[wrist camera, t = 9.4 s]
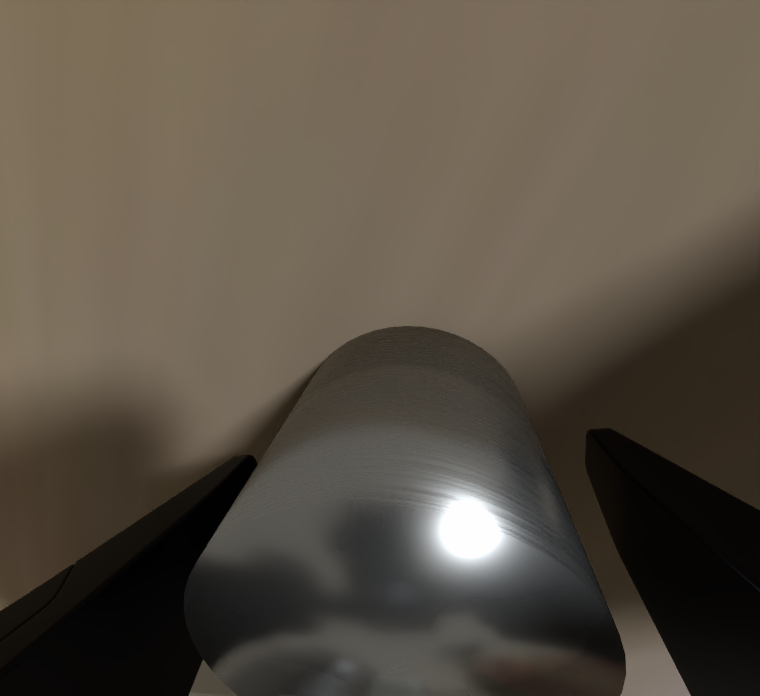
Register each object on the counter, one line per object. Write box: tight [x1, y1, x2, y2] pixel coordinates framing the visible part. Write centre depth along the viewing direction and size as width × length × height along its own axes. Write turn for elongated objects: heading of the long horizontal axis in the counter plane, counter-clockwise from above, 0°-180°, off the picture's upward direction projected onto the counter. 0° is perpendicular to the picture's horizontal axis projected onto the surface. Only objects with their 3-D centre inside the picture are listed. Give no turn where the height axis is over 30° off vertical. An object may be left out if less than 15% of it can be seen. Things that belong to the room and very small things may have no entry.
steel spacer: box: [184, 326, 626, 696], centre depth 7 cm, size 6×6×5 cm
